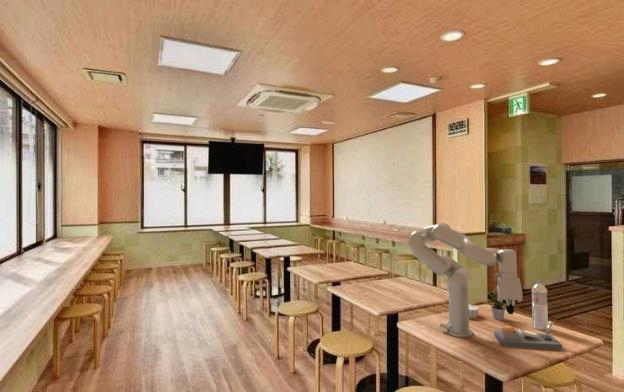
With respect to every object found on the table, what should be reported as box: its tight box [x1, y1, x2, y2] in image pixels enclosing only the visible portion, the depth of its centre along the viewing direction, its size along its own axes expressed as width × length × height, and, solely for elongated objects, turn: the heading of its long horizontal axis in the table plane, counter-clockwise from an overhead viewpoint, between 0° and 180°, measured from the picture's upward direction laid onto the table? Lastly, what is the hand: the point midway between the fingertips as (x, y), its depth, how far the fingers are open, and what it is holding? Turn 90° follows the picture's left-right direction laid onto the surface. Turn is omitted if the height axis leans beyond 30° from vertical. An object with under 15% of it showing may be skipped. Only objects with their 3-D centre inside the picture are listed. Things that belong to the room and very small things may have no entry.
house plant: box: [485, 289, 506, 321], centre depth 198 cm, size 14×14×16 cm
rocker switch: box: [517, 328, 538, 338], centre depth 167 cm, size 7×4×1 cm, turn 78°
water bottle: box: [531, 280, 549, 331], centre depth 184 cm, size 7×7×25 cm
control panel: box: [493, 327, 563, 351], centre depth 167 cm, size 25×12×6 cm, turn 78°
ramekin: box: [469, 303, 480, 319], centre depth 205 cm, size 11×11×5 cm
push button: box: [503, 325, 515, 333], centre depth 169 cm, size 4×4×3 cm
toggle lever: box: [543, 320, 554, 336], centre depth 165 cm, size 2×2×8 cm
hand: (510, 313), depth 168 cm, fingers closed
